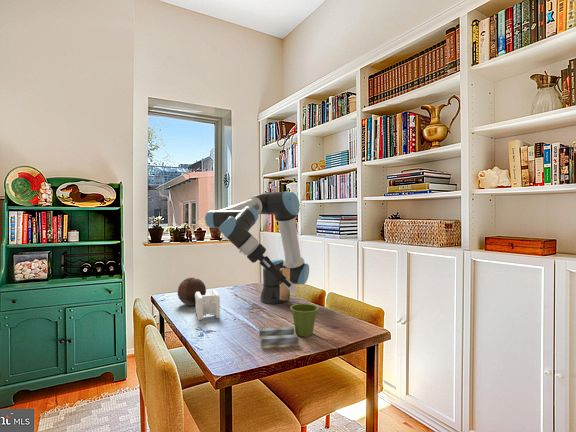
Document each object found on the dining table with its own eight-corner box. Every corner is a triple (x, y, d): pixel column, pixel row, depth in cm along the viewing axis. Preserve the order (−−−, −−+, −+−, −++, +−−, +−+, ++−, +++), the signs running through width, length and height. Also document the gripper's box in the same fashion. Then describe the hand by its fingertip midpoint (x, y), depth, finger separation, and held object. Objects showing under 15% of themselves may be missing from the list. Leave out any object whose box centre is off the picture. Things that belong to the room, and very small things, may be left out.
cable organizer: (220, 319, 165) (220, 295, 165) (197, 322, 162) (197, 297, 162) (215, 311, 180) (215, 288, 179) (194, 313, 176) (194, 290, 176)
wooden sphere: (210, 301, 198) (210, 275, 197) (199, 309, 183) (198, 281, 182) (185, 300, 200) (185, 274, 200) (172, 308, 185) (172, 280, 185)
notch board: (261, 348, 131) (261, 339, 131) (259, 336, 143) (259, 328, 143) (297, 346, 133) (297, 337, 133) (292, 334, 145) (292, 326, 145)
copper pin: (283, 297, 141) (283, 267, 141) (291, 298, 139) (291, 268, 138) (277, 299, 138) (277, 269, 137) (285, 300, 135) (286, 270, 135)
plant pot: (297, 341, 138) (297, 313, 138) (285, 331, 149) (285, 305, 149) (323, 336, 143) (323, 309, 143) (310, 327, 154) (310, 302, 154)
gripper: (244, 253, 144) (284, 291, 147) (247, 259, 127) (291, 302, 130) (257, 240, 144) (296, 278, 147) (261, 244, 128) (305, 287, 131)
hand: (294, 289), depth 139 cm, fingers closed on copper pin, 4 cm apart
